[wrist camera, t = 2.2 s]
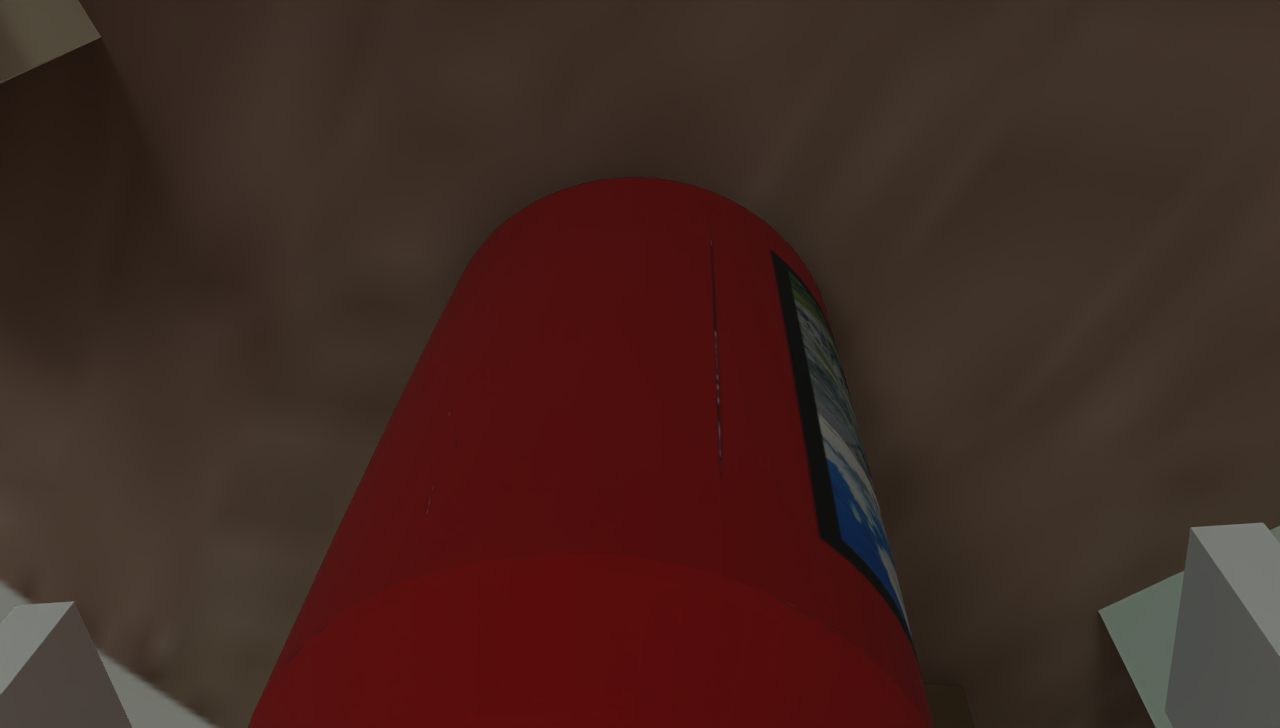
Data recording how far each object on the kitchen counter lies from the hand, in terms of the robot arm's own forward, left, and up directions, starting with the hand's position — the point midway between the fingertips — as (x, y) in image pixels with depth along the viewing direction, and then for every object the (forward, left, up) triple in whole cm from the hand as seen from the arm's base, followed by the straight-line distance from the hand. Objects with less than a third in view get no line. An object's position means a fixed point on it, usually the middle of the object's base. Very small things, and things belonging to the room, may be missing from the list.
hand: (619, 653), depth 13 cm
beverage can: (0, 0, -8) cm, 8 cm away
